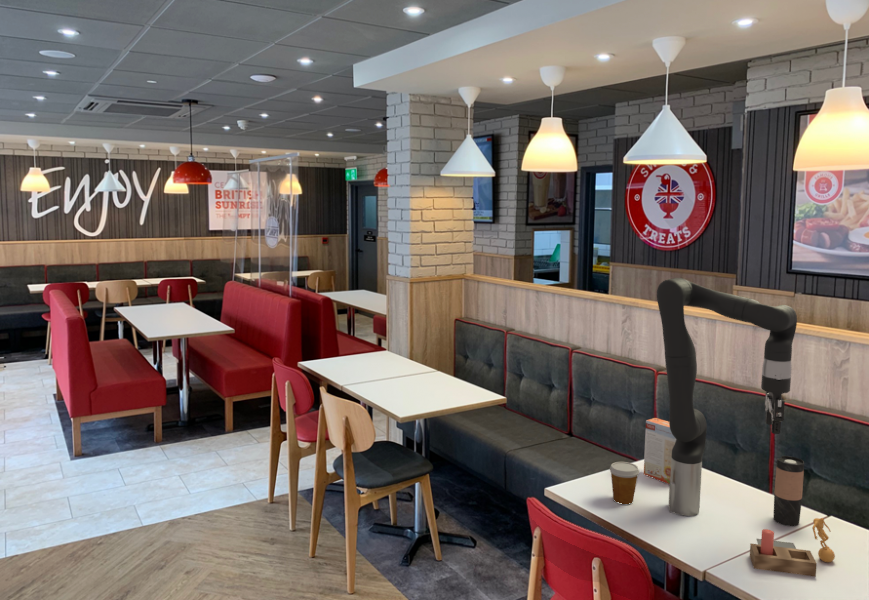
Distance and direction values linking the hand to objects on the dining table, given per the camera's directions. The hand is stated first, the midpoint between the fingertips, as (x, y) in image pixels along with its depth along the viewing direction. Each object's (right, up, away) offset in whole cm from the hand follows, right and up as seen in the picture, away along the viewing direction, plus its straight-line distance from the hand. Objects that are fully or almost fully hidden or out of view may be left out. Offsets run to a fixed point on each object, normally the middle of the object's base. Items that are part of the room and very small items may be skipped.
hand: (772, 428), depth 200 cm
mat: (0, -34, -3) cm, 34 cm away
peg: (-8, -35, -12) cm, 38 cm away
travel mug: (+11, -32, +14) cm, 36 cm away
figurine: (+9, -35, -9) cm, 37 cm away
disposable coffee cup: (-36, -30, +29) cm, 55 cm away
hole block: (-4, -35, -13) cm, 38 cm away
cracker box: (-16, -27, +47) cm, 57 cm away
